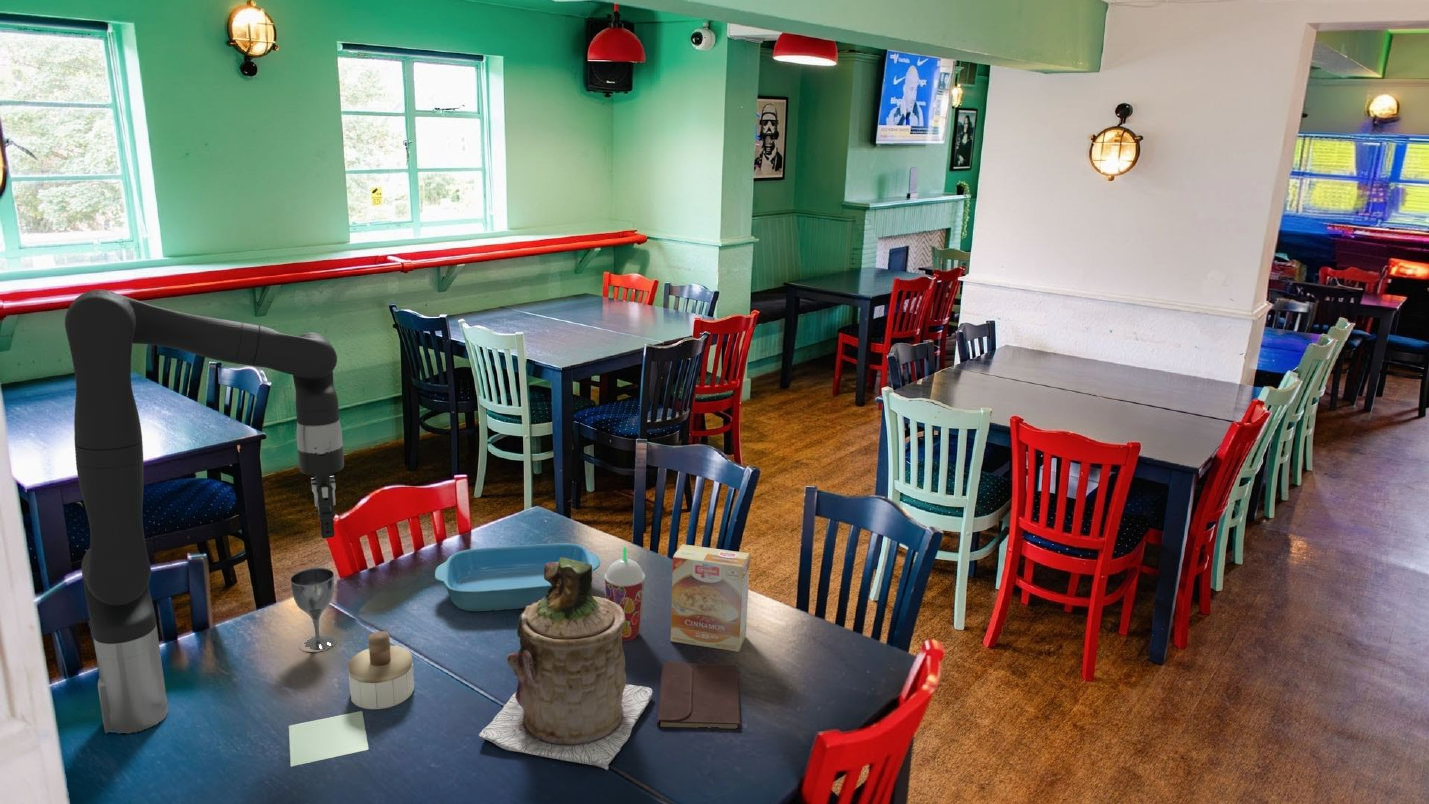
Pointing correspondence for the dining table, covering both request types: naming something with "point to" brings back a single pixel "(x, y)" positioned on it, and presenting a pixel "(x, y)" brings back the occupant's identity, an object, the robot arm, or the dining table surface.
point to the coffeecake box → (709, 597)
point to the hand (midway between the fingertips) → (326, 528)
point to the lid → (380, 660)
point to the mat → (327, 738)
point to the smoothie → (626, 592)
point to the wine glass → (314, 600)
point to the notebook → (699, 695)
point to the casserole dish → (505, 574)
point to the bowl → (382, 691)
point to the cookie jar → (569, 675)
